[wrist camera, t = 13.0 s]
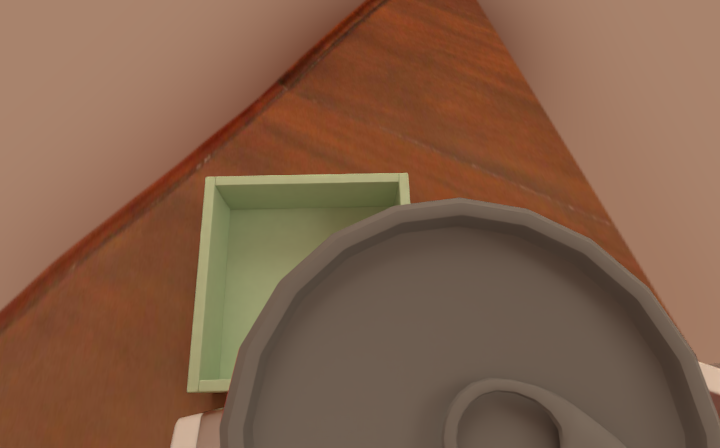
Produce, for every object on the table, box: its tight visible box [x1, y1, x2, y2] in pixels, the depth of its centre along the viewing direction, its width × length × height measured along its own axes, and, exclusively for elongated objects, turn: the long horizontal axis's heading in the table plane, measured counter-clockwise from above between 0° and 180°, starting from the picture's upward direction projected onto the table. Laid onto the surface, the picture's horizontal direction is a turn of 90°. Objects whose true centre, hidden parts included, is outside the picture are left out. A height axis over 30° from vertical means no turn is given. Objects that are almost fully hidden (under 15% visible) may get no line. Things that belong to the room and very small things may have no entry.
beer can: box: [219, 198, 720, 448], centre depth 11 cm, size 7×7×12 cm
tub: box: [187, 173, 410, 393], centre depth 28 cm, size 12×12×5 cm
